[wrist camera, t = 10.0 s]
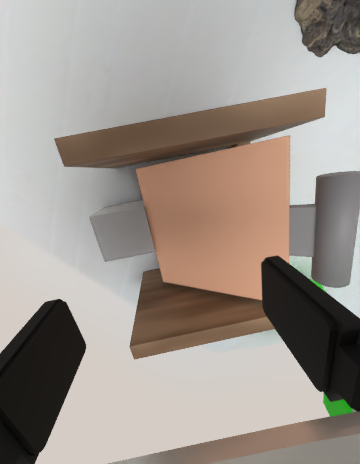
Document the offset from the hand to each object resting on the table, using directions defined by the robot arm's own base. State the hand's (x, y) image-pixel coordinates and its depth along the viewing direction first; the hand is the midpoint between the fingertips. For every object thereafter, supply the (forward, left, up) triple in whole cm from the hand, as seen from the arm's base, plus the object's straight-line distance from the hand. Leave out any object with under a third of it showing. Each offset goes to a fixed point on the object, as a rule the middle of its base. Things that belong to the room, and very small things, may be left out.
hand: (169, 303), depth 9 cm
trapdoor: (0, +7, -10) cm, 12 cm away
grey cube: (0, -2, -16) cm, 16 cm away
